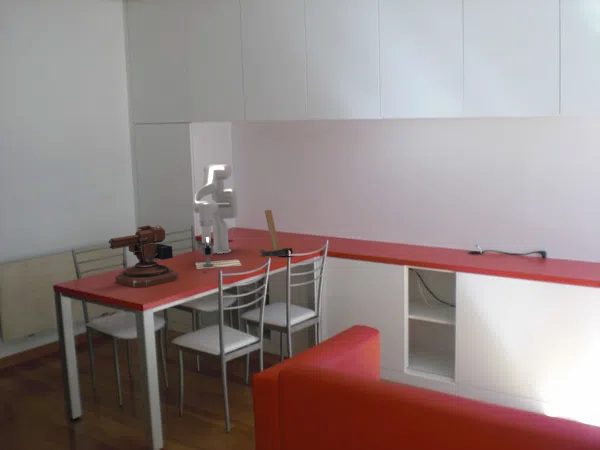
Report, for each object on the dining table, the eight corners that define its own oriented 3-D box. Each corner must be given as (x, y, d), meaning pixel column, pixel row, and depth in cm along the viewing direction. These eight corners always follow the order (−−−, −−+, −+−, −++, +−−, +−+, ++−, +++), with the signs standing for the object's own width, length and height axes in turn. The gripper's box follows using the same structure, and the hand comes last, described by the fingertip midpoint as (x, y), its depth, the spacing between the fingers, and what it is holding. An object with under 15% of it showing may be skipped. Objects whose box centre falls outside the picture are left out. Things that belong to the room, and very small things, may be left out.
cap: (201, 253, 413) (201, 245, 412) (213, 253, 415) (213, 245, 414) (202, 255, 407) (202, 247, 406) (214, 254, 408) (214, 246, 407)
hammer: (261, 259, 441) (251, 213, 439) (264, 258, 446) (254, 212, 443) (290, 255, 434) (280, 207, 431) (293, 253, 439) (283, 206, 436)
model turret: (100, 283, 381) (95, 229, 377) (154, 272, 405) (151, 221, 401) (127, 291, 361) (122, 234, 357) (183, 279, 386) (179, 225, 381)
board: (195, 264, 422) (194, 254, 421) (238, 261, 427) (237, 251, 427) (197, 270, 405) (196, 260, 404) (241, 267, 410) (241, 257, 409)
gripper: (198, 221, 416) (200, 251, 418) (200, 225, 399) (202, 256, 401) (211, 221, 417) (212, 250, 420) (213, 224, 400) (215, 255, 403)
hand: (207, 253), depth 411 cm, fingers closed on cap, 6 cm apart
